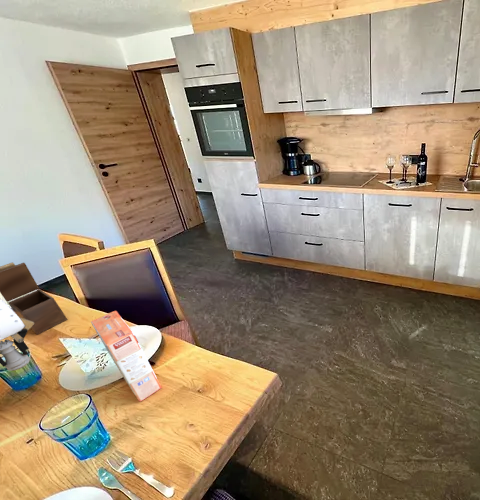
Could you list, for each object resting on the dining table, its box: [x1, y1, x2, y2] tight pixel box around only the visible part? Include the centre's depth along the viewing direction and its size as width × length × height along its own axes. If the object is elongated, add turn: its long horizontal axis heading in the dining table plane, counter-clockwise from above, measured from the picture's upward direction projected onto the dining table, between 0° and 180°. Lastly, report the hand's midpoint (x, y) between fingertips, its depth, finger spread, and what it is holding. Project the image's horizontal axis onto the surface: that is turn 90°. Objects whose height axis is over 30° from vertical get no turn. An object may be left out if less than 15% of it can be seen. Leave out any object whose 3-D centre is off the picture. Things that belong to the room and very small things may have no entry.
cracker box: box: [90, 310, 162, 403], centre depth 77 cm, size 14×6×21 cm, turn 51°
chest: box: [7, 288, 68, 336], centre depth 104 cm, size 12×9×10 cm
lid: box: [0, 262, 40, 303], centre depth 101 cm, size 13×9×5 cm
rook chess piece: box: [0, 339, 31, 372], centre depth 75 cm, size 4×4×8 cm
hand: (14, 357), depth 76 cm, fingers closed on rook chess piece, 3 cm apart
